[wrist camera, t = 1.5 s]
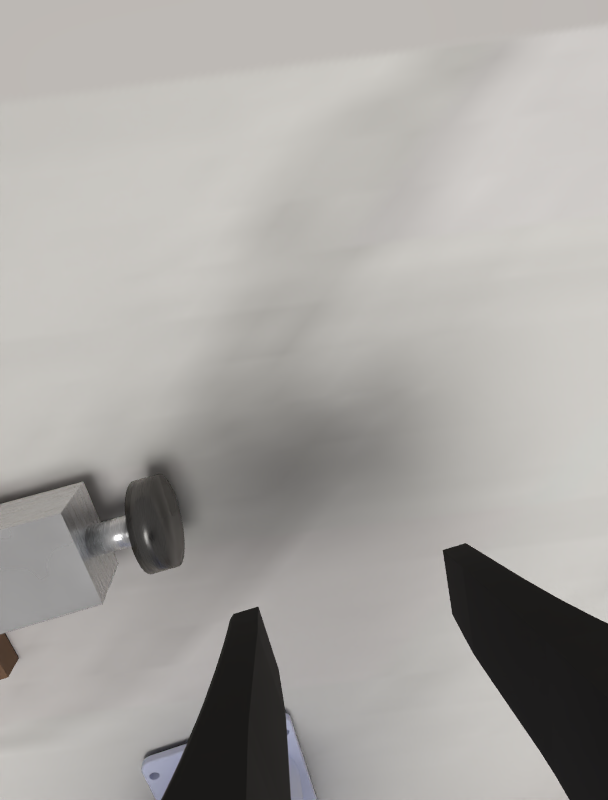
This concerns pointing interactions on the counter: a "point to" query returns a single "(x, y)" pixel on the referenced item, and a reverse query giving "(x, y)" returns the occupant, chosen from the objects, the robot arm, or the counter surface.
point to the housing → (6, 657)
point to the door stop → (80, 548)
